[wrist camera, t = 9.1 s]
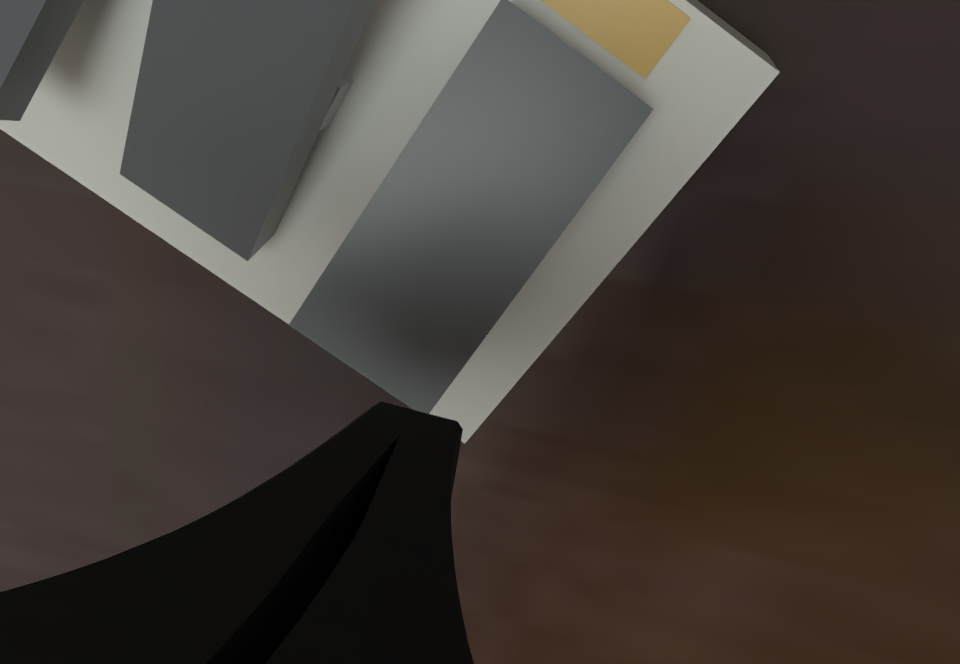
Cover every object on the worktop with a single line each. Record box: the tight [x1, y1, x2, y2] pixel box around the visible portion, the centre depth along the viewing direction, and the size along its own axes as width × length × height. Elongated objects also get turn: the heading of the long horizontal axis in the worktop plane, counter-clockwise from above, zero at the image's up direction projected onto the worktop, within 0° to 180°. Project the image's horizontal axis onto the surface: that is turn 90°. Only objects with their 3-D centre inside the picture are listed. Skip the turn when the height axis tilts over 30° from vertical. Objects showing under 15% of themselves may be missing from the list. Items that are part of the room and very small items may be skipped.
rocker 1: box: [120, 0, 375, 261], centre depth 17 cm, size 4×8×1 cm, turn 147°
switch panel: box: [0, 0, 780, 443], centre depth 19 cm, size 18×12×3 cm, turn 57°
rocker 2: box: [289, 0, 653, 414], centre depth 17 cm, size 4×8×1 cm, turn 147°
